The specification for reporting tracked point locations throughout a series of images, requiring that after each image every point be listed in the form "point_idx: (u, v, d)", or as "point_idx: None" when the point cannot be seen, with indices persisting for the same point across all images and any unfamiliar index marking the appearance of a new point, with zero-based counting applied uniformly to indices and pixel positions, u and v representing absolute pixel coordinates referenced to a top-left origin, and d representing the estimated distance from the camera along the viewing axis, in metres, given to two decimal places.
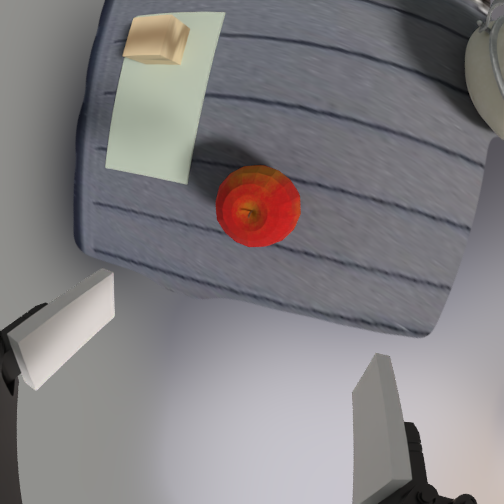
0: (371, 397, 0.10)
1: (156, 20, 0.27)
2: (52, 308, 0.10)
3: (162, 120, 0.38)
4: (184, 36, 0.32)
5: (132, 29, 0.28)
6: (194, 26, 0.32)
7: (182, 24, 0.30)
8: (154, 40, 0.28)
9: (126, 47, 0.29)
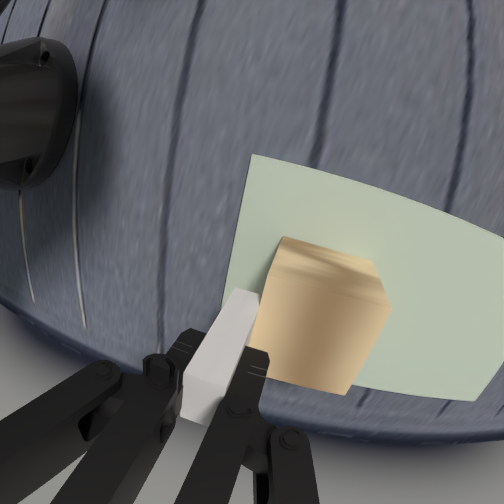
0: None
1: (274, 316, 0.14)
2: (217, 335, 0.11)
3: (464, 303, 0.17)
4: (308, 248, 0.18)
5: (277, 374, 0.15)
6: (277, 226, 0.19)
7: (282, 250, 0.16)
8: (340, 323, 0.13)
9: (324, 387, 0.15)
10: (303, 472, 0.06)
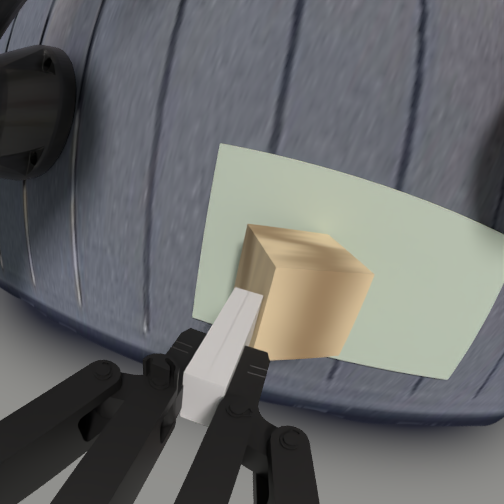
0: None
1: (281, 304, 0.15)
2: (217, 335, 0.11)
3: (423, 277, 0.20)
4: (277, 232, 0.19)
5: (283, 354, 0.17)
6: (242, 204, 0.21)
7: (261, 239, 0.17)
8: (336, 295, 0.16)
9: (322, 353, 0.17)
10: (303, 472, 0.06)
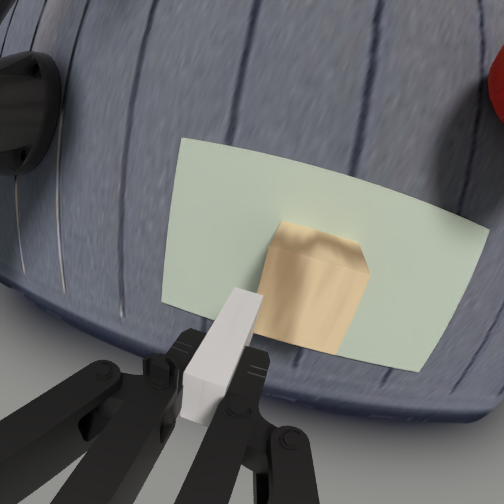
0: None
1: None
2: (217, 335, 0.11)
3: (383, 263, 0.21)
4: (290, 241, 0.18)
5: None
6: (202, 193, 0.23)
7: (313, 256, 0.16)
8: None
9: None
10: (303, 472, 0.06)
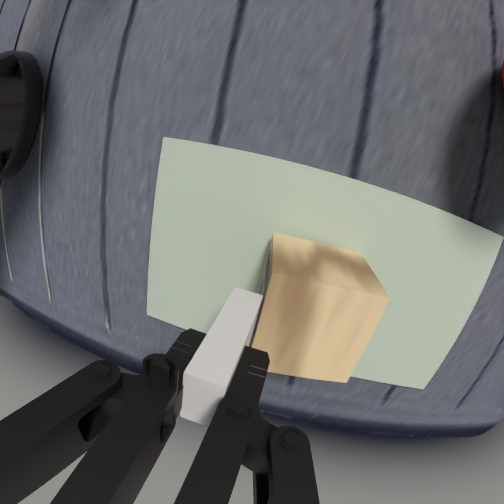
0: None
1: None
2: (217, 335, 0.11)
3: (387, 275, 0.19)
4: (292, 262, 0.15)
5: None
6: (186, 199, 0.20)
7: (324, 282, 0.14)
8: None
9: None
10: (303, 472, 0.06)
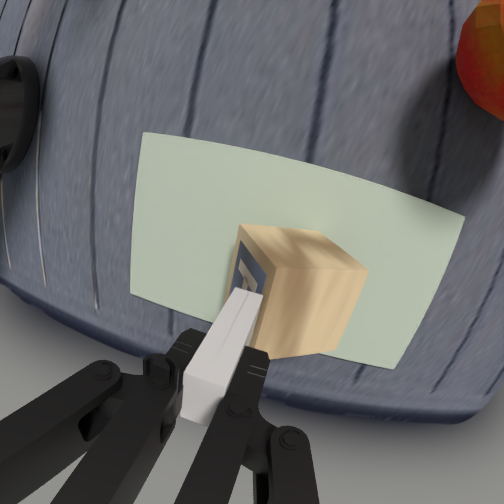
0: None
1: None
2: (217, 335, 0.11)
3: None
4: (281, 253, 0.16)
5: None
6: (162, 185, 0.23)
7: (318, 267, 0.15)
8: None
9: None
10: (303, 472, 0.06)
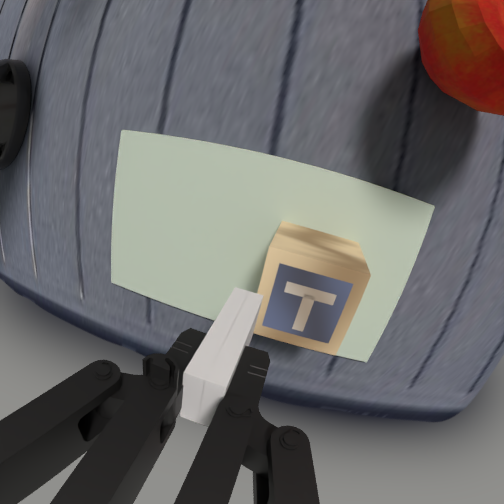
0: None
1: None
2: (216, 335, 0.11)
3: None
4: (342, 260, 0.17)
5: None
6: (138, 179, 0.23)
7: (361, 258, 0.18)
8: None
9: None
10: (303, 472, 0.06)
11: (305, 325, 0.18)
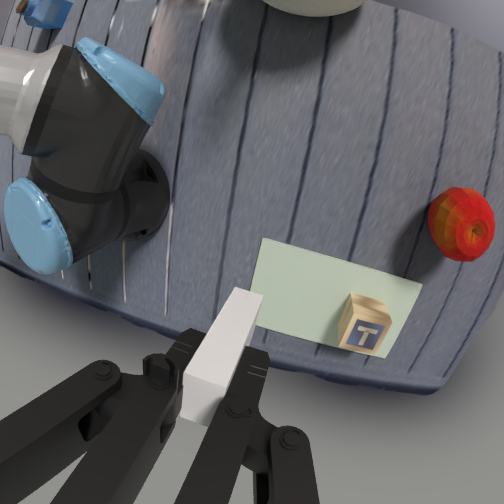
0: None
1: None
2: (217, 335, 0.11)
3: None
4: (380, 316, 0.38)
5: None
6: (272, 267, 0.45)
7: (387, 313, 0.39)
8: None
9: None
10: (303, 472, 0.06)
11: (364, 343, 0.39)
